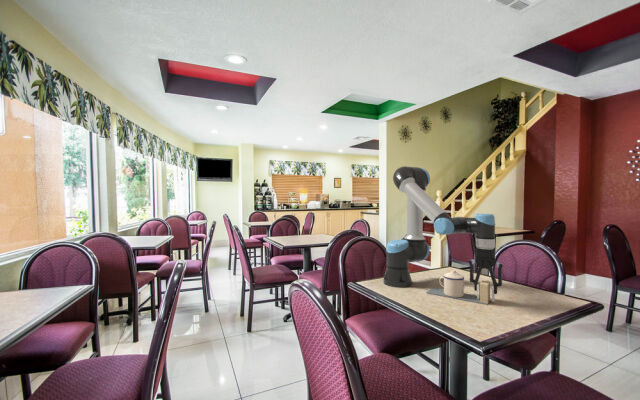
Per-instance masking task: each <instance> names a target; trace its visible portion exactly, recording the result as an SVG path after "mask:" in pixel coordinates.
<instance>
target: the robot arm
mask: <svg viewBox="0 0 640 400" xmlns="http://www.w3.org/2000/svg"><path fill="white" fill-rule="evenodd" d="M392 175H393V176H392V181H393V184H394V185H395V187H396V188H397V189H398V190H399V192H401V193H404V194H405V195H406V235H404V238H403V239H393V240H390V241H388V242H387V243H386V248H385V249H386V250H385V253H386V269H385V272H384V276H383V284H384V285H386V286H389V287H395V288H407V287H411V286H413V280H412V277H411V274H410V273H411V272H410V270H409V264H410V263H417V262H423V261H424V260H426V259H427V258H428V257H429V255H430V250H431V249H430V245H429V244H428V243H427V242H426V237H425V236H424V234H423V229H424V228H423V227H424V223H423V221H424V220H423V219H424V217H423V215H425V216H426V217H427V218H428V219H429V220H430V221H431V223H433V228H434V231H435V233H436V234H439V235H443V236H445V235H446V236H448V235H458V234H473V235H475V247H476V248H475V257H474V259H469V260H468V264H469V282H470V283H473V284H474V285H473V286H474V291H476V295H477V299H479V298H480V283H481V282H480V283H479V280H480V277H481V273H482V270H484V269H486V270H488V271H489V274H490V279H491V281H492V286H491V302H495V295H497V294H498V287H502V285H503V266H504V263H503V262H500V261H497V259H496V249H495V248H496V220H495V215H494V214H492V213H476V214H475V217H468V216H467V217H465V216H453V217H451V215H449V214H448V213H447V212H446V211H445V210H444V209H443V208H442V207H441V206H440V205H439V204H438V203H437V202H436V201H435V200H433V198H432V197H431V196H430V195H429V194H428V193H427V192H426V190H427V187H428V185H429V184H430V182H431V176H430V174H429V171H428V170H426V169H425V168H423V167H419V166H417V167H415V166H400V167H399V168H396V170H395V171H394V172H393V174H392ZM475 263H476V264H477V266H478V268H477V271H476V275H475V277H474V273H475V269H474V268H475ZM494 266H496V268H497V279H498V280H497V279H496V276H495V272H494V268H493V267H494ZM497 281H498V282H497Z"/></svg>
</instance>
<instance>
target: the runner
mask: <svg viewBox="0 0 640 400" xmlns="http://www.w3.org/2000/svg"><path fill="white" fill-rule="evenodd" d="M425 294H429V295H434V296H440V297H444V298H450V299H455V300H459V301H463V302H470V303H474V304H481V305H487V306H488V305H489V303H490V301H491V300H492V297H491V280H485V279H482V280H481V282H480V298H479V299H477V294H476V295H475V294H470V293H465V292H464V296H463V297H450V296H447V295H445V294H444V288H437V287H431V288H430V289H429V290H428V291H426V293H425Z"/></svg>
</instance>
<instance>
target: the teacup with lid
mask: <svg viewBox="0 0 640 400" xmlns="http://www.w3.org/2000/svg"><path fill="white" fill-rule="evenodd" d="M442 279H443V280H442ZM442 281H443V282H442ZM439 285H441V287H442V288H443V290H444V294H445V295H447V296H450V297H463V296H464V293H465V287H464V286H465V276H464V275H463V274H460V273H458V272H457V270H455V269H452V270H450V272H449V271H448V272H446V273H444V274H443V276H440V278H439Z"/></svg>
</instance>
